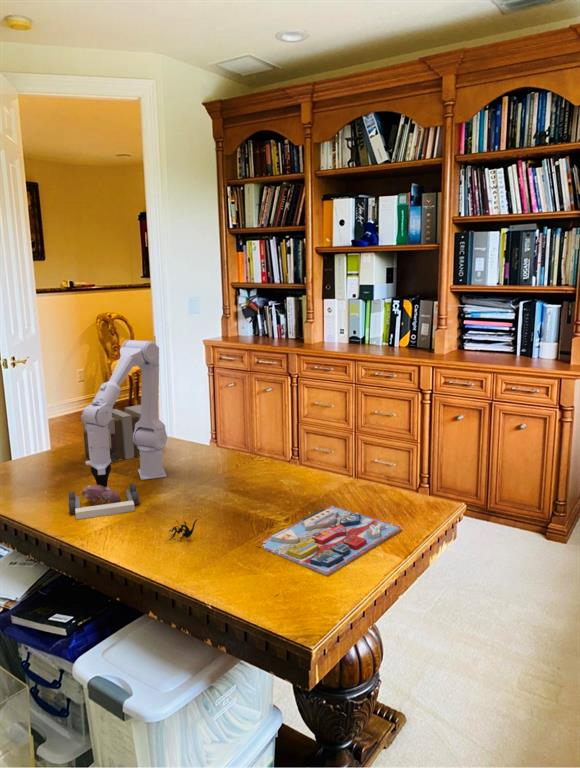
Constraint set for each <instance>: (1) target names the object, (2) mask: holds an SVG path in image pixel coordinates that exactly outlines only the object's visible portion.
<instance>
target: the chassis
mask: <svg viewBox="0 0 580 768" xmlns="http://www.w3.org/2000/svg"><path fill="white" fill-rule="evenodd" d="M125 496H127V497H126V501H121V502H120V501H118V502H112V503H107V504H98V505H93V506H92V505H91V506H85V507H84V506H83V507H81V500H80V495H79V496H76V492H75V491H68V511H69V512H68V513H69V515H70V514H75V521H76V520H84V519H90V518H97V517H104V516H109V515H110V516H111V515H116V514H124V513H130V512H136V511H135V510H136V509H135V505H139V504H140V496H139V492H138V491H137V484H136V483H130V484H129V489H125ZM127 500H128V501H127Z"/></svg>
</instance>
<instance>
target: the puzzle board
mask: <svg viewBox="0 0 580 768" xmlns="http://www.w3.org/2000/svg"><path fill="white" fill-rule="evenodd" d="M400 532H402V526H400V525H397V524H394V523H391V522H387V521H383V520H381V519H377V518H374V517H372V516H371V517H370V516H368V515H364V514H362V513H360V512H355V511H352V510H349V509H344V508H341V507H338V506H334V505H330V506H328V507H324V508H322V509H318V511H316V512H313V513H312V514H309V515H307V516H305V517H303V518H302V519H300V521H298V522H296V523H294V524H293V525H290V526H288V527H286V528H282V529H280V530H278V531H276V532H274V533H272V534H271V535H269V536H268V537H266V538H264V539H262V540H263V543H266V544H263V545H262V546H264V547H262V548H263V549H262V550H264V549H265V550H264V551H266V550H268V551H270V552H269V553H271V552H272V553H271V554H273V553H274V555H275V554H276V555H275V556H279V558H283V559H285V560H287V561H290V562H292V563H294V564H297V565H299V566H302V567H304V568H306V569H309V570H310V571H314V572H315V573H318V574H320V575H322V576H325V577H330V576H331V575H333V574H334V573H335V572H337V571H338V570H340V569H342V568H343V567H345V566H347V565H348V564H350V563H352V562H354V561H355V560H356V559H358V558H360V557H361V556H363V555H365V554H366V553H368V552H369V551H371V550H373V549H374V548H376V547H378V546H379V545H381V544H382V543H383V542H386V541H387V540H389V539H390V538H392V537H394V536H395V535H397V534H398V533H400ZM262 540H260V541H261V542H262ZM268 551H267V552H268Z"/></svg>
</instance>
